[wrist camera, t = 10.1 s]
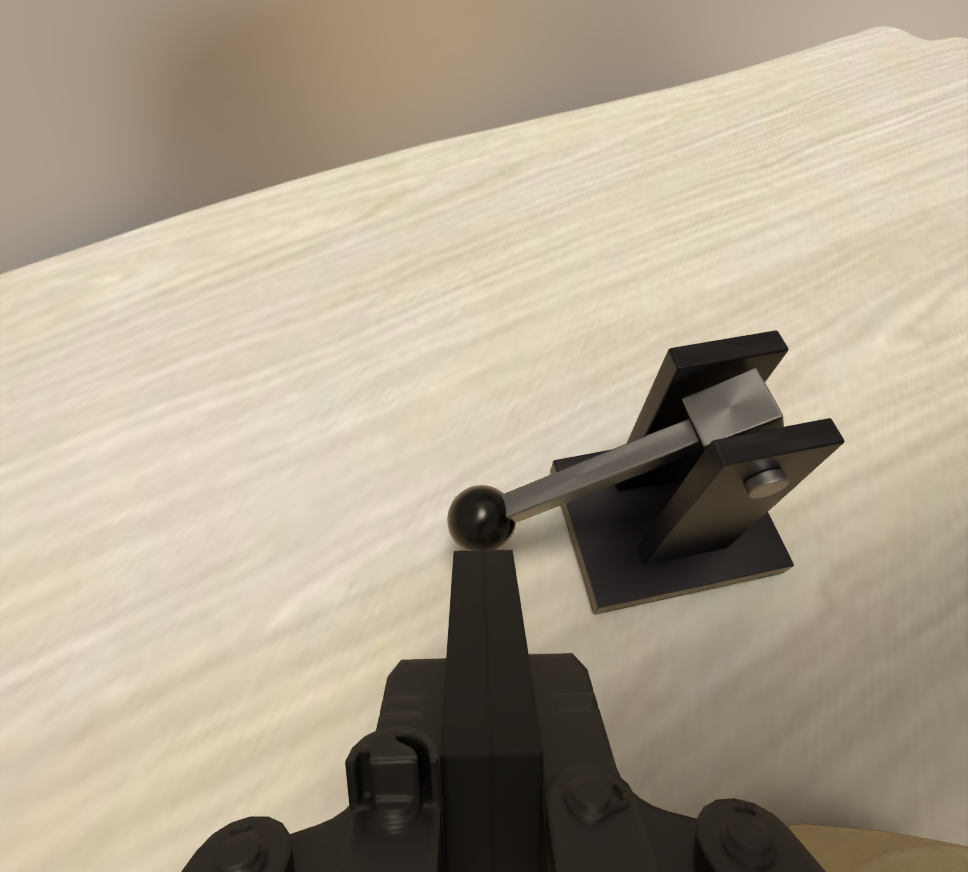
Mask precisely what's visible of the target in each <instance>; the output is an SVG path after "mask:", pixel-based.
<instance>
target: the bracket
mask: <svg viewBox="0 0 968 872" xmlns="http://www.w3.org/2000/svg"><path fill="white" fill-rule="evenodd" d="M787 352H788V347H787V345H786V343H785V342H784V340H783V339H782V337H781V335H780V334H779V332H778V331H776V330H775V331H770V332H764V333H758V334H752V335H746V336H740V337H734V338H728V339H722V340H716V341H710V342H704V343H698V344H693V345H687V346H681V347H675V348H670V349H669V350H668V352H667V354H666V356H665V358H664V361H663V363H662V365H661V367H660V370H659V372H658V374H657V376H656V378H655V381H654V383H653V385H652V387H651V390H650V392H649V394H648V396H647V399H646V401H645V403H644V405H643V408H642V410H641V412H640V414H639V417H638V419H637V421H636V423H635V426H634V428H633V430H632V432H631V435H630V437H629V439H628V441H627V443H630V442H632V441H635V440H637V439H640V438H642V437H644V436H647V435H649V434H652V433H654V432H657V431H659V430H662V429H664V428H666V427H669V426H671V425H674V424H676V423H679V422H681V421H684V420H686V419H690V418H689V415H688V413H687V410H686V408H685V405H684V403H683V401H682V399H683V398H684V397H686V396H689V395H691V394H693V393H696V392H698V391H700V390H703V389H705V388H708V387H710V386H712V385H715V384H717V383H719V382H722V381H724V380H727V379H729V378H731V377H734V376H736V375H738V374H741V373H743V372H746V371H748V370H750V369H753V368H757V369H758V371H759V373H760V375H761V377H762V378H763V380H764V382H766V380H767V379H768V378H769V376H770V375H771V373H772V372H773V371H774V369H775V368H776V367H777V365H778V364H779V363H780V361H781V360H782V358H783V357H784V356H785V354H786V353H787ZM844 442H845V441H844V439H843V437H842V435H841V434H840V432H839V431H838V429H837V427H836V426H835V424H834V422H833V421H832V419H831V418H828V419H823V420H817V421H812V422H807V423H801V424H796V425H791V426H785V427H780V428H775V429H770V430H764V431H759V432H754V433H748V434H743V435H738V436H732V437H727V438H722V439H717V440H713V441H711V443H710V444H709V446H708V447H707V448H706V450H705V451H704V449H703V450H702V451H699V452H697V453H694V454H692V455H689V456H686V457H684V458H681V459H679V460H676V461H674V462H671V463H668V464H666V465H663V466H661V467H658V468H656V469H653V470H650V471H648V472H645V473H643V474H640V475H638V476H635V477H632V478H630V479H627V480H625V481H622V482H620V483H617V484H614V485H612V486H609V487H607V488H604V489H601V490H599V491H596V492H594V493H591V494H589V495H586V496H583V497H581V498H578V499H576V500H573V501H571V502H568V503H565V504H563V505H561V506H562V509H563V513H564V516H565V519H566V522H567V526H568V529H569V532H570V536H571V539H572V542H573V546H574V549H575V552H576V556H577V559H578V562H579V566H580V569H581V572H582V576H583V579H584V582H585V586H586V589H587V592H588V596H589V599H590V602H591V606H592V609H593V612H594V614H597V613H602V612H606V611H611V610H615V609H620V608H625V607H629V606H634V605H638V604H643V603H648V602H652V601H657V600H661V599H666V598H670V597H675V596H680V595H684V594H689V593H693V592H698V591H702V590H707V589H712V588H716V587H721V586H725V585H730V584H734V583H739V582H744V581H748V580H753V579H757V578H762V577H767V576H771V575H776V574H780V573H784V572H785V571H787V570H788V569H790V568H791V567H793V566H794V564H793V562H792V560H791V558H790V556H789V554H788V552H787V550H786V548H785V546H784V544H783V541H782V539H781V537H780V535H779V533H778V531H777V529H776V527H775V525H774V523H773V521H772V519H771V517H770V515H769V513H768V511H769V510H770V509H771V508H772V507H773V506H774V505H776V504H777V503H778V502H779V501H780V500H781V499H782V498H783V497H784V496H786V495H787V494H788V493H789V492H790V491H791V490H792V489H793V488H794V487H796V486H797V485H798V484H799V483H800V482H801V481H802V480H803V479H804V478H805V477H807V476H808V475H809V474H810V473H811V472H812V471H813V470H814V469H815V468H817V467H818V466H819V465H820V464H821V463H822V462H823V461H824V460H825V459H827V458H828V457H829V456H830V455H831V454H832V453H833V452H834V451H835V450H836V449H838V448H839V447H840V446H841V445H842V444H843V443H844ZM612 450H613V449H612ZM608 451H610V450H607V451H602V452H596V453H591V454H585V455H580V456H575V457H569V458H564V459H559V460H554V461H553V464H552V468H551V473H552V474H554V473H556V472H559V471H561V470H564V469H566V468H569V467H571V466H573V465H576V464H578V463H581V462H583V461H586V460H588V459H591V458H593V457H595V456H598V455H600V454H603V453H605V452H608Z"/></svg>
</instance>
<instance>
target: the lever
mask: <svg viewBox="0 0 968 872" xmlns="http://www.w3.org/2000/svg"><path fill="white" fill-rule="evenodd" d="M682 401H683V403H684V405H685V408H686V410H687V413H688V415H689V418H690V419H686V420H684V421H681V422H679V423H676V424H674V425H671V426H669V427H666V428H664V429H662V430H659V431H657V432H654V433H652V434H649V435H647V436H644V437H642V438H640V439H637V440H635V441H632V442H630V443H627V444H625V445H622V446H620V447H617V448H615V449H613V450H610V451H608V452H605V453H603V454H600V455H598V456H595V457H593V458H591V459H588V460H586V461H583V462H581V463H578V464H576V465H573V466H571V467H569V468H566V469H564V470H561V471H559V472H556V473H554V474H551V475H549V476H547V477H544V478H542V479H539V480H537V481H534V482H532V483H529V484H527V485H524V486H522V487H520V488H517V489H515V490H512V491H510V492H507V493H505V494H504V493H503V492H501V491H500V490H498V489H496V488H494V487H491V486H486V485H478V486H473V487H470V488H467V489H465V490H464V491H462V492H461V493H460V494H458V495H457V497H456V498H455V499H454V500H453V502H452V504H451V506H450V508H449V512H448V518H447V522H448V528H449V532H450V534H451V536H452V538H453V540H454V541H455V542H456V543H457V544H458V545H459V546H460V547H461V548H462V549H464V550H466V551H477V550H500V549H501V548H502V547H504V546H505V545H506V544H507V543H508V541H509V540H510V539H511V537H512V535H513V533H514V530H515V526H516V522H519V521H522V520H524V519H527V518H529V517H532V516H535V515H537V514H540V513H542V512H545V511H547V510H550V509H553V508H555V507H558V506H560V505H563V504H565V503H568V502H571V501H573V500H576V499H578V498H581V497H583V496H586V495H589V494H591V493H594V492H596V491H599V490H601V489H604V488H607V487H609V486H612V485H614V484H617V483H620V482H622V481H625V480H627V479H630V478H632V477H635V476H638V475H640V474H643V473H645V472H648V471H650V470H653V469H656V468H658V467H661V466H663V465H666V464H668V463H671V462H674V461H676V460H679V459H681V458H684V457H686V456H689V455H692V454H694V453H697V452H699V451H702V450H703V449H704V451H705V450H706V448H707V447H708V446H709V444H710V443H711V441H713V440H717V439H722V438H727V437H732V436H738V435H743V434H748V433H754V432H759V431H764V430H770V429H775V428H780V427H784V422H783V414H782V412H781V411H780V409H779V407H778V405H777V403H776V402H775V400H774V398H773V396H772V394H771V393H770V391H769V389H768V387H767V385H766V384H765V382H764V380H763V378H762V377H761V375H760V373H759V371H758V369H757V368H753V369H750V370H748V371H746V372H743V373H741V374H738V375H736V376H734V377H731V378H729V379H727V380H724V381H722V382H719V383H717V384H715V385H712V386H710V387H708V388H705V389H703V390H700V391H698V392H696V393H693V394H691V395H689V396H686V397H684V398H683V399H682Z"/></svg>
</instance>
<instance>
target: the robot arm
mask: <svg viewBox="0 0 968 872" xmlns="http://www.w3.org/2000/svg"><path fill="white" fill-rule="evenodd" d="M345 765H346V775H347V786H348V796H349V806H348V807H347V808H346V809H345V810H344V811H343V812H341V813H340V814H338V815H337V816H335V817H334V818H332V819H330V820H328V821H326V822H323V823H321V824H319V825H316V826H313V827H310V828H307V829H304V830H301V831H298V832H295V833H292V834H289V832H288V831H287V829H286V828H285V826H284V825H283V823H281V822H279V821H277V820H275V819H272V818H270V817H247V818H244V819H241V820H238V821H235V822H232V823H230V824H228V825H227V826H225V827H223V828H222V829H220V830H219V831H217V832H215V833H214V834H212V835H211V836H210V837H209V838H208V839H207V841H206V842H205V843H204V844H203V845H202V846H201V847H200V848H199V849H198V850H197V851H196V852H195V854H194V855H193V856H192V858H191V859H190V861H189V862H188V863H187V865H186V866H185V867H184V869H183V870H182V871H181V872H826V871H825V870H824V869H823V868H822V867H821V865H820V864H819V863H818V862H817V861H816V859H815V858H814V857H813V856H812V855H811V854H810V852H809V851H808V850H807V849H806V848H805V847H804V845H803V844H802V843H801V842H800V841H799V839H798V838H797V837H796V836H795V835H794V834H793V832H792V831H791V830H790V829H789V828H788V827H787V826H786V825H785V824H784V823H783V822H781V821H780V820H779V819H778V818H777V817H776V816H775V815H774V814H773V813H771V812H769V811H767V810H765V809H763V808H761V807H760V806H758V805H756V804H754V803H751V802H747V801H742V800H738V799H734V798H733V799H719V800H715V801H713V802H712V803H710V804H708V805H706V806H704V807H703V809H702V811H701V812H700V814H699V816H698V818H697V819H695V818H692V817H688V816H684V815H680V814H676V813H672V812H669V811H666V810H663V809H660V808H657V807H654V806H652V805H651V804H649V803H647V802H645V801H644V800H642V799H640V798H639V797H638V796H637V795H636V794H634V793H633V792H632V790H631V788H630V786H629V785H628V784H627V783H626V782H625V781H624V780H623V779H622V778H621V777H620V774H619V772H618V770H617V767H616V764H615V761H614V757H613V754H612V751H611V747H610V744H609V741H608V737H607V734H606V731H605V727H604V724H603V721H602V717H601V714H600V711H599V708H598V704H597V701H596V697H595V694H594V692H593V687H592V684H591V680H590V677H589V674H588V670H587V669H586V667H585V666H584V665H583V664H582V663H581V662H580V661H579V660H578V659H577V658H576V657H575V656H574V655H573V653H562V654H528V648H527V642H526V635H525V629H524V622H523V616H522V609H521V602H520V596H519V589H518V583H517V576H516V570H515V563H514V556H513V550H477V551H454V554H453V569H452V584H451V598H450V613H449V628H448V643H447V657H446V659H412V660H401V661H400V662H399V663H398V664H397V666H396V667H395V668H394V669H393V671H392V672H391V673H390V674H389V676H388V677H387V682H386V686H385V691H384V696H383V700H382V705H381V710H380V717H379V719H378V724H377V728H376V731H375V732H373V733H371V734H369V735H367V736H365V737H364V738H362V739H361V740H360V741H359V742H358V743H357V744H356V745H355V746H354V747H353V748H352V749H351V751H350V753H349V755H348V757H347V759H346V761H345Z"/></svg>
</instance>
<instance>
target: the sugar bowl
mask: <svg viewBox="0 0 968 872" xmlns="http://www.w3.org/2000/svg"><path fill="white" fill-rule="evenodd" d="M786 826H787V827H788V828H789V829H790V830H791V831H792V832H793V834H794V835H795V836H796V837H797V838H798V839H799V841H800V842H801V843H802V844H803V845H804V847H805V848H806V849H807V850H808V851H809V852H810V854H811V855H812V856H813V857H814V858H815V859H816V861H817V862H818V863H819V864H820V865H821V867H822V868H823V869H824V870H825V871H826V872H968V847H967V846H963V845H958V844H952V843H947V842H942V841H937V840H931V839H925V838H920V837H915V836H910V835H904V834H897V833H891V832H884V831H875V830H866V829H856V828H845V827H832V826H823V825H812V824H797V825H786Z"/></svg>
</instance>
